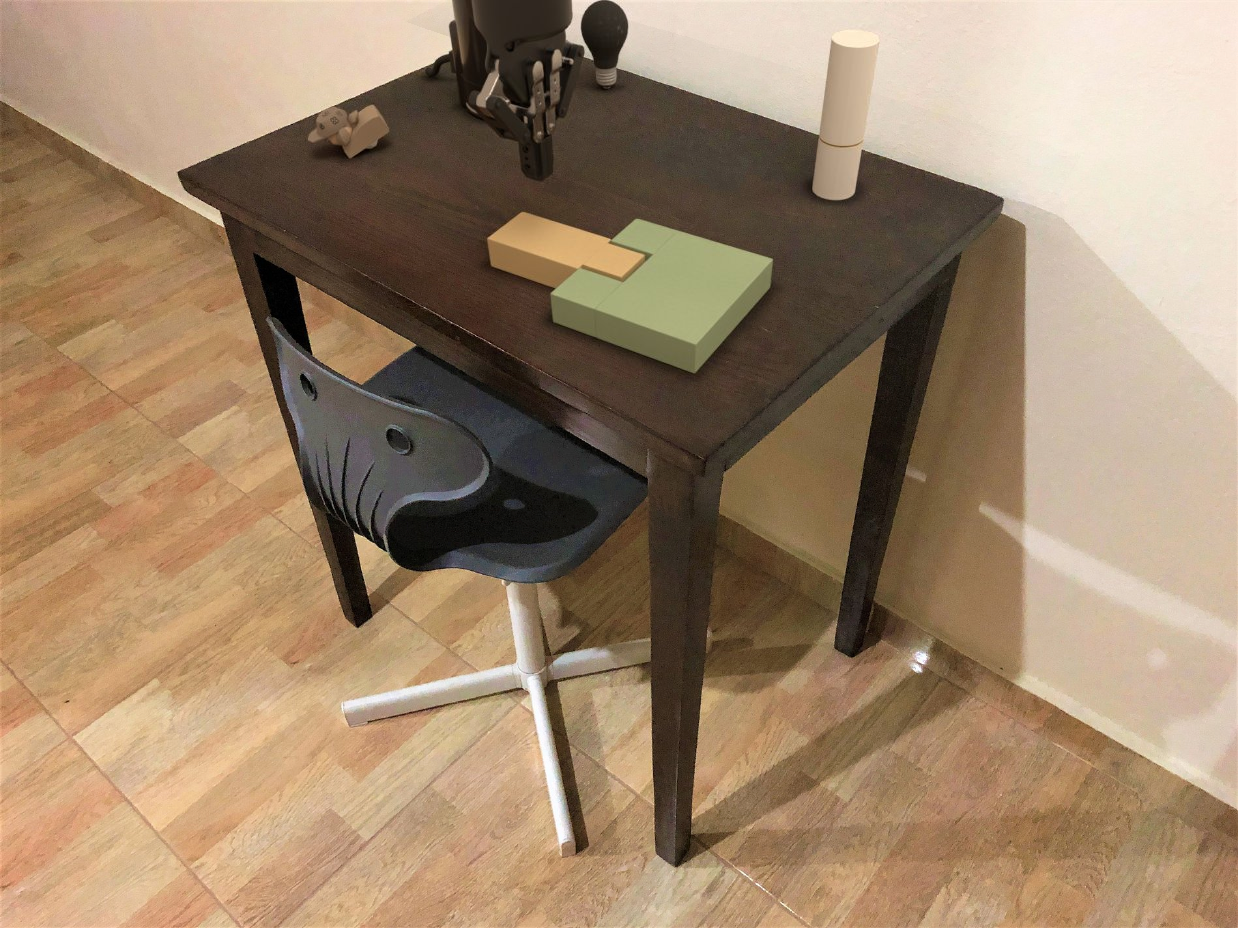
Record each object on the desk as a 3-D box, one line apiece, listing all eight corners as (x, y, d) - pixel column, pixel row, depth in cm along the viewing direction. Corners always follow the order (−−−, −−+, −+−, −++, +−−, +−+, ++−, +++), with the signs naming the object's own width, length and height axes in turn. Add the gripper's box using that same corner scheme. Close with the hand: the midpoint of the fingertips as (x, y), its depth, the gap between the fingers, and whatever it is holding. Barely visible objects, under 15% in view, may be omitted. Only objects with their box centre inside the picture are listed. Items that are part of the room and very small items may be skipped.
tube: (854, 201, 93) (879, 49, 83) (811, 198, 94) (830, 46, 83) (855, 181, 96) (879, 30, 86) (813, 178, 97) (832, 28, 86)
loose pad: (490, 266, 87) (486, 238, 85) (525, 239, 90) (522, 211, 88) (617, 310, 81) (616, 281, 79) (649, 279, 85) (649, 250, 82)
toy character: (332, 165, 106) (297, 123, 102) (389, 125, 106) (357, 82, 101) (338, 181, 104) (303, 139, 99) (396, 140, 103) (364, 96, 99)
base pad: (552, 322, 80) (549, 293, 78) (636, 246, 89) (636, 218, 87) (694, 374, 75) (695, 344, 73) (770, 287, 83) (773, 258, 81)
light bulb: (576, 93, 113) (571, 7, 106) (594, 75, 117) (590, -10, 110) (619, 99, 112) (616, 12, 105) (636, 81, 115) (635, -5, 108)
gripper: (530, -74, 73) (547, 135, 86) (419, -22, 66) (456, 199, 78) (610, -60, 70) (616, 154, 83) (504, -4, 63) (528, 223, 75)
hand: (538, 176), depth 80 cm, fingers closed
